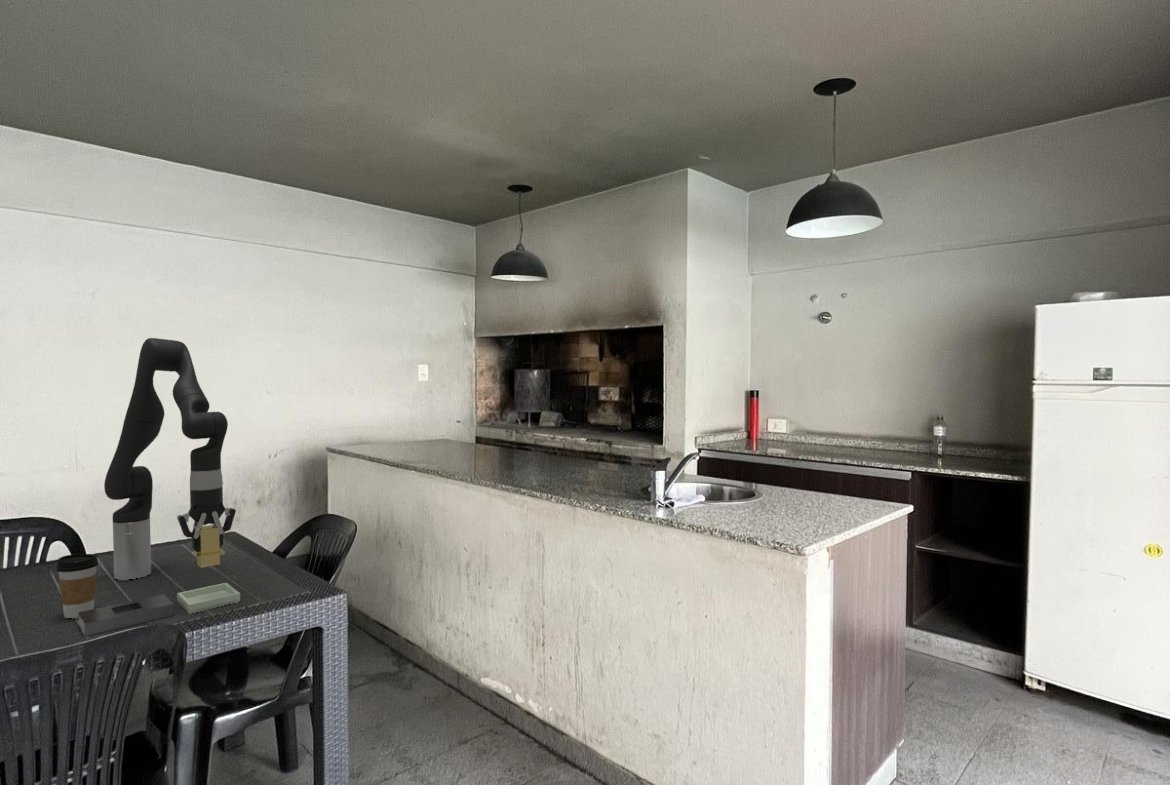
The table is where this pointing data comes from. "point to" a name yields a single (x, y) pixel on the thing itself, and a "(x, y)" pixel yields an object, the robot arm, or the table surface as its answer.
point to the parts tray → (208, 598)
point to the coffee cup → (77, 583)
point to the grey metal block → (125, 614)
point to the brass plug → (209, 547)
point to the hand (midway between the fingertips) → (207, 549)
